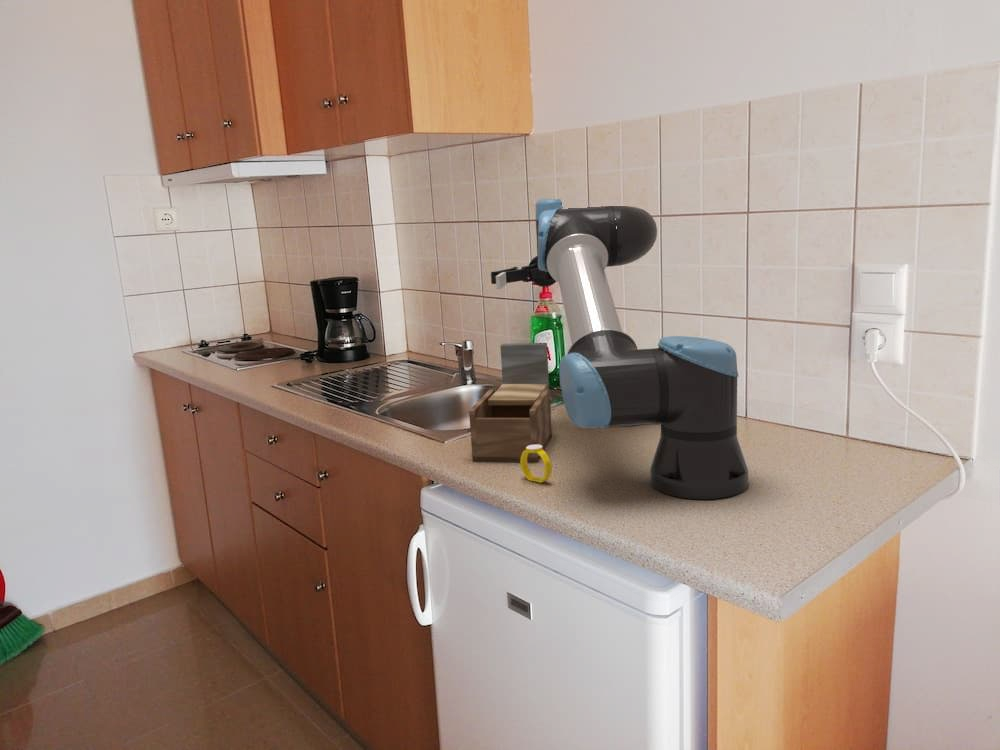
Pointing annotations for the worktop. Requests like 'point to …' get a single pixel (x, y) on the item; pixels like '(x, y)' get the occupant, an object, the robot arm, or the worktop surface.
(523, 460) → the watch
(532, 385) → the lid
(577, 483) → the worktop surface
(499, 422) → the walnut box
